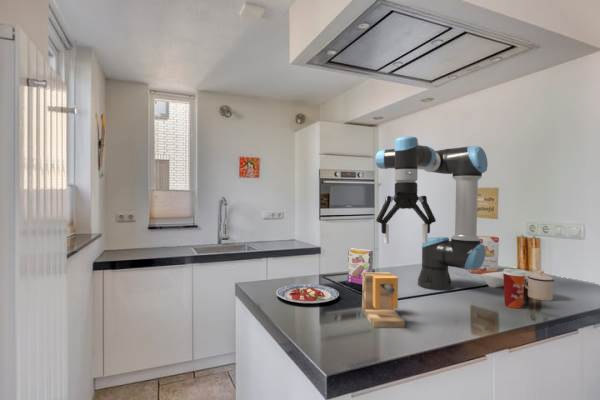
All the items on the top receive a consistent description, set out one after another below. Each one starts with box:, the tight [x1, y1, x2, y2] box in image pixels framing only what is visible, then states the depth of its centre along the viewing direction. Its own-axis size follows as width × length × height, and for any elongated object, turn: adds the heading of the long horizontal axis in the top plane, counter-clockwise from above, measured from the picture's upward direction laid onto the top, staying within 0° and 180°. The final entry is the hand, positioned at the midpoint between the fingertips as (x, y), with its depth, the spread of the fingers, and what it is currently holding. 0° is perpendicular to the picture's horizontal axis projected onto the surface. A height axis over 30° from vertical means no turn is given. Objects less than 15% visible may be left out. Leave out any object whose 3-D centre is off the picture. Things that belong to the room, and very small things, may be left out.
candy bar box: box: [347, 247, 374, 286], centre depth 159 cm, size 11×5×16 cm, turn 58°
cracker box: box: [467, 235, 500, 274], centre depth 186 cm, size 14×6×21 cm, turn 81°
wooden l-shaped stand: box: [361, 271, 406, 329], centre depth 112 cm, size 17×10×14 cm, turn 3°
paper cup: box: [501, 268, 526, 310], centre depth 128 cm, size 8×8×14 cm
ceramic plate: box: [276, 283, 340, 305], centre depth 136 cm, size 26×26×3 cm
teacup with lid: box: [524, 269, 555, 302], centre depth 141 cm, size 12×9×12 cm
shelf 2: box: [480, 269, 536, 288], centre depth 162 cm, size 12×30×5 cm, turn 114°
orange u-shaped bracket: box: [373, 275, 399, 309], centre depth 110 cm, size 3×8×10 cm, turn 92°
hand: (405, 242), depth 115 cm, fingers open, 13 cm apart
